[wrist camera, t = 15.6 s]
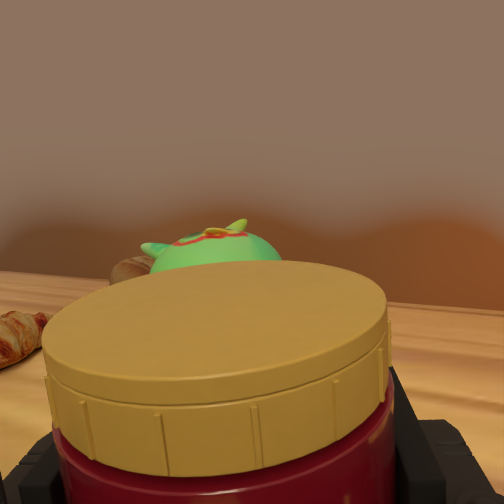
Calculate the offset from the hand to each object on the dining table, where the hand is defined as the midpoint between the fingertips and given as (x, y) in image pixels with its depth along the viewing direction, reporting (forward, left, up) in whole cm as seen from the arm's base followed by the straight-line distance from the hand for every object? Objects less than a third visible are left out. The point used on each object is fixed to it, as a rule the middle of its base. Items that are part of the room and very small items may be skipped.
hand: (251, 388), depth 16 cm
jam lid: (-2, -4, +5) cm, 7 cm away
